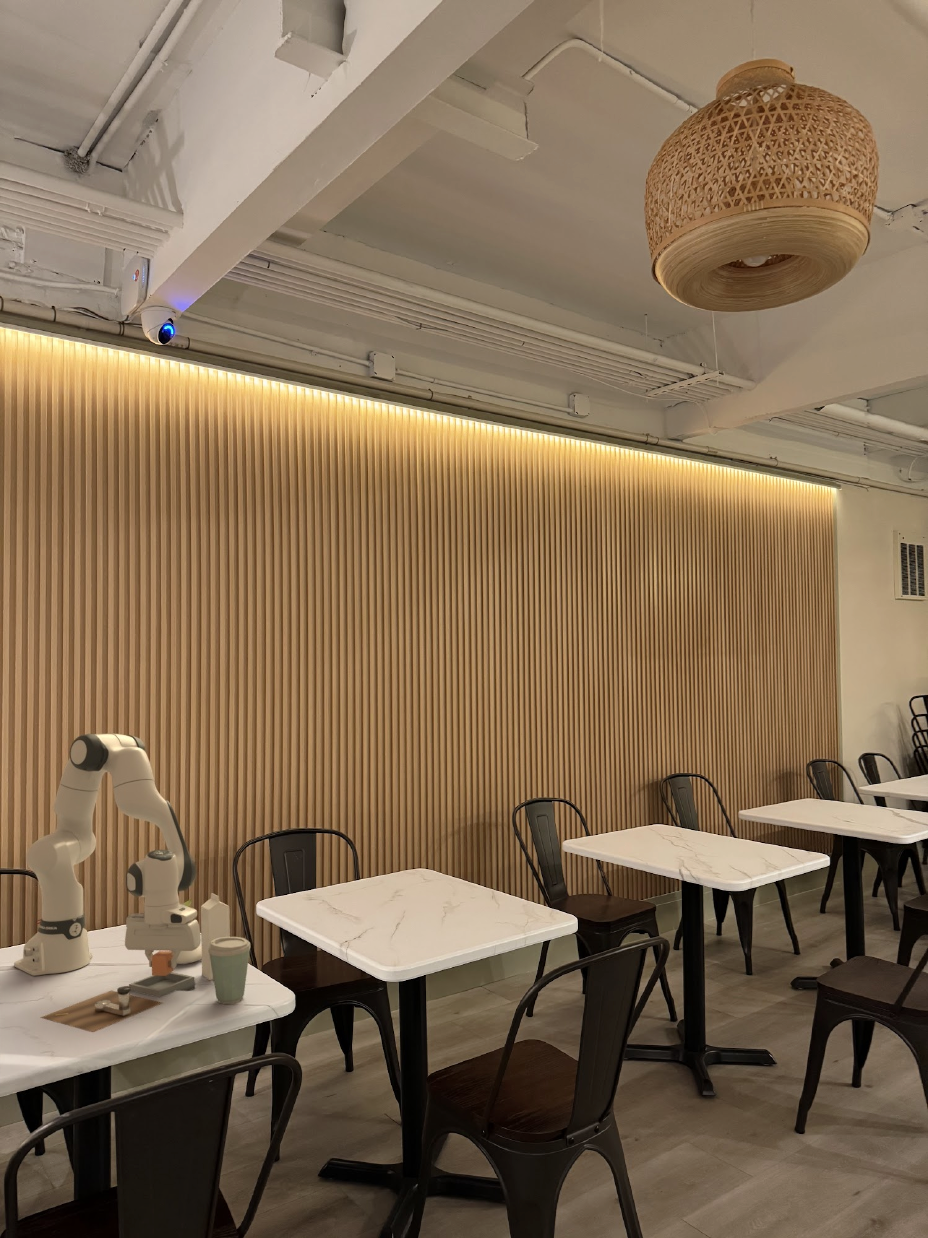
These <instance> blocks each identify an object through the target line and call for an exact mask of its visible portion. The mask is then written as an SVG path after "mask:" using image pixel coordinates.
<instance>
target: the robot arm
mask: <svg viewBox="0 0 928 1238" xmlns="http://www.w3.org/2000/svg"><path fill="white" fill-rule="evenodd" d="M105 773H109V774H110V776H111V781H112V789H113V791H112V792H113V796H114V801H115V804H116V808H117V809H118V810H119V811H120V812H121V813H123V814H124V815H125V816H128V817H130V818H133V819H136V820H141V821H145V822H149V823H152V824H153V825H155V826H157V827H158V828H159V830H160V831H161V833H162V837H163V839H164V840H163V841H164V842H165V846H166V848H167V849H155V850H151V851H150V852H148V853H147V854H146V855H145V856H144V857H145V858H143V859H141V860H138V861H137V862H133V863H132V864H131V865H130V866H129V868H128V870H127V871H126V875H125V886H126V890H127V892H128V893H129V894H131V895H132V896H134V897H135V898H144V902H143V903H144V904H143V906H144V907H143V909H144V910H143V912H140V913H137V912H133V913H130V915H128V916H127V917H126V920H125V926H126V928H125V929H126V930H125V936H124V946H125V948H126V949H127V950H128V951H134V950H135V951H144V955H145V957H146V958H147V961H148V963H149V964H148V965H149V966H148V967H149V968H152V955H154V951H172V955H173V957H172V959H171V960H169V961H168V964H169V965H168V967H169V968H175V967H177V965H178V964H177V963H176V959H177V958H178V956H179V954H180V951H193V950H195V949H196V948H198V947H199V945H200V946H201V929H200V928H201V927H200V924H199V922H198V920H197V919H196V918H197V917H198V911H197V909H195V908H193V907H191V906H190V907H187V906H185V905H183V903H180V897H179V894H178V892H184V891H187V890H188V889H189V888H190V887H191V886H192V884H193V883H194V882H195V880H196V878H197V868H196V863H195V861H194V859H193V857H192V856H191V853H190V851H189V850H188V846H187V844H186V841H185V839H184V835H183V833H182V830H181V827H180V824H179V821H178V818H177V816H176V813H175V810H174V809H173V806H172V805H171V803H170V801H169V800H167V799H165V798H164V797H163V796H162V795H161V793H160V792H159V791H158V789H157V787H156V784H155V783H156V782H155V777H154V773H153V768H152V766H151V762H150V759H149V757H148V754H147V752H146V746H145V743H144V741H143V740H142V739H141V738H140V737H137V736H134V735H131V734H126V735H125V734H121V733H111V732H110V733H86V734H82V735H79V736H77V737H75V739H74V740H73V741H72V743H71V746H70V748H69V758H68V760H67V763H66V764H65V767H64V769H63V772H62V775H61V779H60V781H59V785H58V789H57V792H56V796H55V800H54V804H53V812H54V813H55V814H56V820H57V821H56V828H55V831H54V832H53V833H49V834H47V835H43V836H41V837H40V838H38V839H37V840H36V841H35V842H33V843H32V844H31V845H30V846H29V848H27V851H26V854H25V855H26V856H25V858H26V859H25V860H26V861H25V862H26V864H27V866H28V868H29V869H30V870H31V871H32V872H33V873H34V874H35V875H36V878H37V881H38V883H39V887H40V893H41V919H37V920H36V921H37V923H36V925H38V928H37V933H35V934H34V935H33V936H32V937H31V938H30V939H29V940H28V941H27V942H26V943H25V944H24V946H23V951H22V958H20V959H18V960H16V961H15V962H14V963H13V966H14V967H15V968H16V969H18V970H20V971H23V972H24V973H26V974H29V975H31V976H41V975H48V974H50V975H51V974H60V973H61V974H62V973H66V972H71V971H74V970H75V971H76V970H77V969H81V968H83V967H85V966H87V965H88V964H90V962H91V959H93V953H92V952H91V951H90V945H89V944H90V943H89V935H88V931H87V929H86V928H85V927H86V915H85V913H84V888H83V885H82V884H81V883H80V882H78V879H77V876H76V873H75V865H79V864H80V863H83V862H84V861H85V860H86V859H87V858H89V857H90V856H91V855H92V854H93V852H94V851H95V849H96V847H97V838H96V836H95V834H94V832H93V820H94V819H93V818H94V811H95V807H96V805H97V803H96V802H97V799H98V796H99V792H100V787H101V783H102V779H103V777H104V775H105ZM177 891H178V892H177Z"/></svg>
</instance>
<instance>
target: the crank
mask: <svg viewBox="0 0 928 1238" xmlns="http://www.w3.org/2000/svg"><path fill="white" fill-rule="evenodd" d="M116 989H117V991H116V992H117V993H118V994H119V1005H117V1004H113V1003H111V1001H109V1000H103V1001H99V1002H96V1003H95V1011H106V1012H110V1013H114V1014H118V1015H122V1016H124V1015H127V1014H129V1013H130V1008H129V995H130V993H131V992H132V991H131V987H130V986H129V985H125V986H120V987H118V988H116Z"/></svg>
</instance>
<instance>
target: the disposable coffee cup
mask: <svg viewBox="0 0 928 1238" xmlns="http://www.w3.org/2000/svg"><path fill="white" fill-rule="evenodd" d="M250 949H251V942H250V941H249V940H248V939H246V938H245V937H239V936H230V937H221V938H216V939H214V940H212V941H211V945H210V946H209V951H208V953H209V955H210V961H211V967H212V973H213V985H214V991H215V996H216V999H217V1002H218V1003H219V1004H224V1005H230V1004H231V1005H232V1004H235V1003H239V1002H241V1001H242V1000H243V999H244V995H245V989H246V982H247V974H248V966H249V958H250V957H249V956H250V952H251V951H250Z"/></svg>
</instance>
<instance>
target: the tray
mask: <svg viewBox="0 0 928 1238" xmlns="http://www.w3.org/2000/svg"><path fill="white" fill-rule="evenodd" d="M195 980H196V979H195V976H192V975H187V974H183V973H178V972H174V971H172V972H171V973H169V974H168V975H166V976H158V975H152V974H151V975H150V976H148V977H145V978H143V979H142V978H141V979H139V980H137V981H134V982H131V983H129V984H128V986H130V987H131V991H130V992H135V993H139V994H143V995H147V996H152V997H155V998H160V997H161V998H162V997H163V996H166V995H168V994H171V993H173V992H177V991H178V992H189V991H193V990H195V988H196V986H195Z"/></svg>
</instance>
